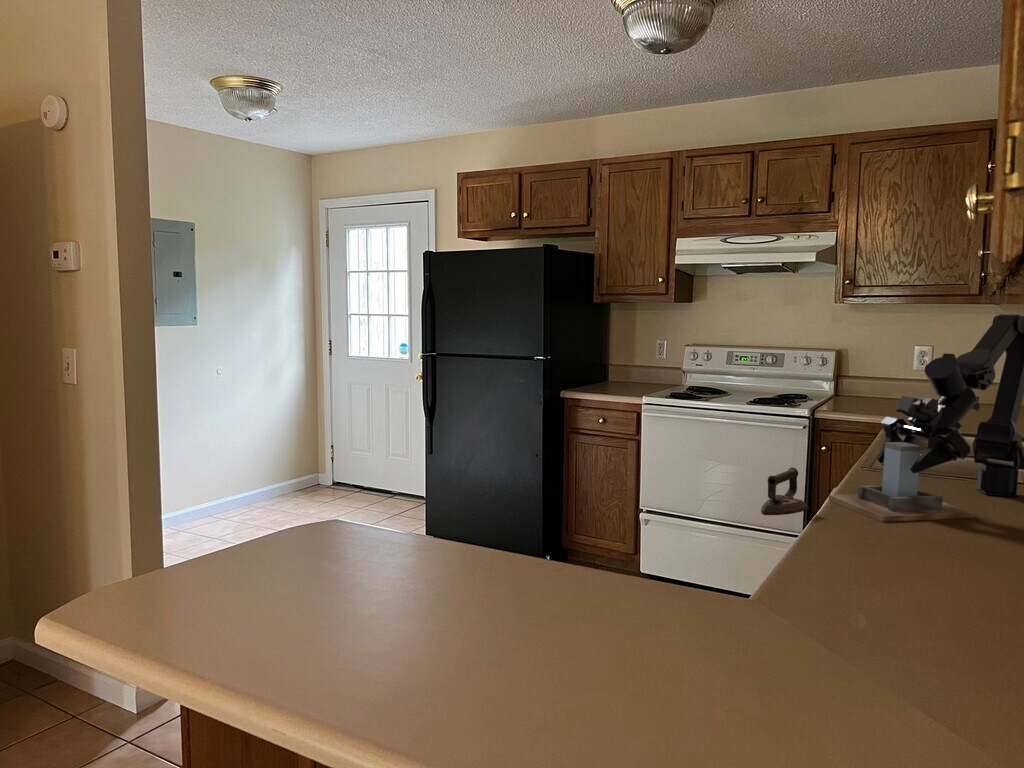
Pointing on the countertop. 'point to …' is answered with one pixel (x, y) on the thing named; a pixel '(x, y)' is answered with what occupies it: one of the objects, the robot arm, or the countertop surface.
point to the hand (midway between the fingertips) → (895, 466)
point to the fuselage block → (900, 469)
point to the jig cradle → (899, 505)
